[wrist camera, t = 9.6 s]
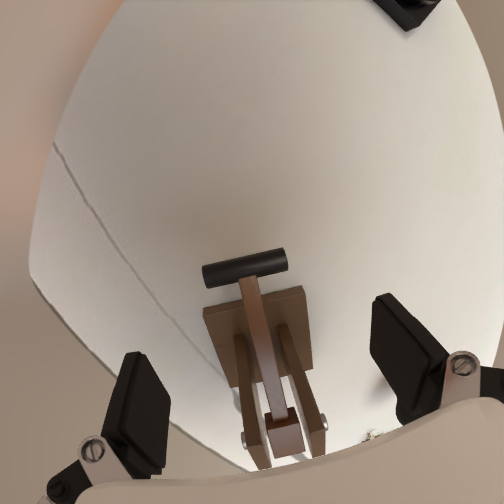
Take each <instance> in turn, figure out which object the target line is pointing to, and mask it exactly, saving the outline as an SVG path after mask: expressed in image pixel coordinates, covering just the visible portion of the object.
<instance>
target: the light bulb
mask: <svg viewBox="0 0 504 504" xmlns="http://www.w3.org/2000/svg"><path fill="white" fill-rule="evenodd" d="M396 416H397V419H398V420H399V422H400V423H401V424H402V425H403V426H404V425H406V424H409V423H411V422H413V421H415V420H417V419H419V418H421V417H423V416H425V415H424V414H423V412H421V413H419V414H417V415H415V416H413V415H412V414H411V412H410V411H408V412H407V411H406V410H405V409H404V407H403V406H402V404H401V402H400V401H399V399H398V397H397V405H396Z"/></svg>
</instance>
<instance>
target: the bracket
mask: <svg viewBox="0 0 504 504" xmlns="http://www.w3.org/2000/svg"><path fill="white" fill-rule="evenodd" d="M261 297H262V302H263V306H264V310H265V315H266V319H267V323H268V328H269V332H270V336H271V341H272V345H273V349H274V354H275V358H276V362H277V367H278V371H279V375H280V377H284V376H288V378H289V382H290V385H291V388H292V392H293V395H294V398H295V402H296V405H297V409H298V412H299V415H300V419H301V422H302V425H303V429H304V432H305V435H306V439H307V442H308V445H309V449H310V452H311V455H312V458H315V457H319V456H322V455H325V431H327V430H328V424H327V420H326V417H325V415H324V414H323V413H322V414H320V412H319V410H318V407H317V404H316V401H315V398H314V396H313V393H312V390H311V387H310V385H309V382H308V379H307V376H306V374H305V371H307V370H310V369H313V362H312V351H311V341H310V331H309V321H308V312H307V303H306V295H305V291H304V289H303V287H302V286H299V287H295V288H291V289H286V290H282V291H278V292H274V293H270V294H266V295H261ZM203 318H204V321H205V324H206V326H207V329H208V332H209V334H210V337H211V340H212V342H213V345H214V348H215V350H216V353H217V355H218V358H219V361H220V363H221V366H222V368H223V371H224V373H225V376H226V378H227V381H228V383H229V386H230V388H233V387H238V386H239V394H240V403H241V411H242V419H243V427H244V432H241V440H242V444H243V447H244V449H245V450H246V449H247V450H248V451H249V453H250V455H251V457H252V459H253V461H254V462H255V464H256V466H257V468H258V469H259V470H262V469H268V468H272V465H271V460H270V455H269V450H268V445H267V439H266V434H265V429H264V424H263V418H262V413H261V407H260V402H259V397H258V391H257V385H256V383H258V382H263V380H262V376H261V372H260V368H259V364H258V360H257V356H256V352H255V348H254V344H253V340H252V335H251V331H250V327H249V323H248V319H247V315H246V311H245V306H244V302H243V300H240V301H235V302H231V303H226V304H222V305H217V306H212V307H208V308H203Z"/></svg>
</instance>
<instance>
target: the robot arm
mask: <svg viewBox="0 0 504 504" xmlns="http://www.w3.org/2000/svg"><path fill="white" fill-rule="evenodd" d="M370 354H371V356H372V358H373V359H374V361H375V362H376V364H377V365H378V367H379V369H380V370H381V372H382V373H383V375H384V377H385V378H386V380H387V381H388V383H389V385H390V386H391V388H392V389H393V391H394V393H395V394H396V396H397V397H398V399H399V401H400V402H401V404H402V406H403V407H404V409H405V410H406V411H407V412H408V411H410V412H411V414H412V415H413V416H415V415H417V414H419V413H421V412H423V414H424V415H425V416H423V417H421V418H419V419H417V420H415V421H413V422H411V423H409V424H406V425H404V426H402V427H400V428H397V429H395V430H393V431H390V432H388V433H386V434H383V435H381V436H378V437H376V438H374V439H371V440H368V441H366V442H363V443H360V444H358V445H355V446H352V447H349V448H346V449H343V450H340V451H337V452H334V453H331V454H327V455H324V456H321V457H317V458H313V459H310V460H306V461H302V462H298V463H294V464H290V465H285V466H281V467H276V468H271V469H265V470H260V471H254V472H248V473H241V474H234V475H225V476H216V477H205V478H189V479H188V478H187V479H151V475H161V473H162V468H164V467H165V465H166V449H167V438H168V426H169V416H170V406H171V399H170V396H169V394H168V392H167V391H166V389H165V387H164V386H163V384H162V382H161V381H160V379H159V377H158V376H157V374H156V372H155V371H154V369H153V367H152V365H151V364H150V362H149V360H148V358H147V356H146V355H145V354H142V353H141V352H139V351H137V352H130V353H126V354H125V357H124V360H123V363H122V366H121V369H120V372H119V375H118V378H117V382H116V385H115V387H114V389H113V393H112V396H111V400H110V403H109V406H108V410H107V413H106V417H105V421H104V424H103V428H102V432H101V436H96V435H95V436H90V437H88V438H86V439H85V440H84V441H82V442H81V444H80V445H79V448H78V458H79V459H78V460H77V461H75V462H74V463H73V464H71V465H70V466H68V467H67V468H65V469H64V470H63V471H61V472H60V473H58V474H57V475H55V476H54V477H53V478H51V479H50V480H49V482H48V484H47V495H48V496H47V497H45V496H43V497H42V498H41V499H40V500H39V502H38V503H37V504H504V369H499V368H491V367H484V366H480V361H479V360H478V358H477V357H476V356H475V355H474V354H472V353H470V352H467V351H457V352H454V353H453V354H451V355H450V354H449V353H448V352H447V351H446V350H445V349H444V348H443V346H442V345H441V344H440V343H439V342H438V341H437V340H436V339H435V338H434V337H433V335H432V334H431V333H430V332H429V331H428V330H427V329H426V328H425V327H424V326H423V325H422V324H421V323H420V322H419V321H418V319H416V318H415V317H413V316H412V315H411V314H410V313H409V312H408V311H407V310H406V309H405V307H404V306H403V305H402V304H401V303H400V302H399V301H398V300H397V299H396V298H395V297H394V296H393V295H392V294H391V293H386V294H383V295H380V296H377V297H376V299H375V301H373V303H372V320H371V336H370Z"/></svg>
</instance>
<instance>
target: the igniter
mask: <svg viewBox="0 0 504 504" xmlns="http://www.w3.org/2000/svg"><path fill="white" fill-rule="evenodd" d="M373 1H374V2H375V3H377V4H378V5H379V6H380V7H381V8H382V9H383V10H384V11H385V12H386V13H387V14H388V15H390V16H391V17H392V18H393V19H394V20H395V21H396V22H397V23H398V24H399V25H400V26H401V27H402V29H403V30H404V31H405V32H406V31H409V30H411V29H414V28H416V27H419V26H420V25H421V23H422V22H423V21H424V20H425V19H426V17H427V16H428V15H429V14H430V13H431V12H432V10H433V9H434V8H435V7H436V6H437V4H438V3H439V2H440V1H441V0H373Z"/></svg>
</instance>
